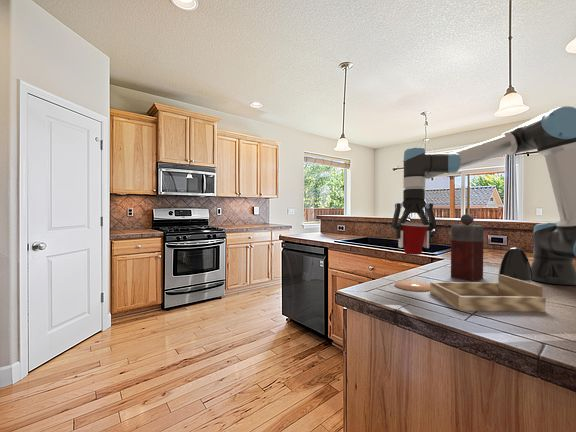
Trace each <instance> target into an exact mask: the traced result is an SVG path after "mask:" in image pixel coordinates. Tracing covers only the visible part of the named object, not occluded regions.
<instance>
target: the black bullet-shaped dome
mask: <svg viewBox="0 0 576 432" xmlns="http://www.w3.org/2000/svg"><path fill="white" fill-rule="evenodd" d="M499 275H505V276H508V277H512V278H515V279H519V280H522V281H526V282H529V283H532V281H533V280H532V271H531V264H530V261H529V258H528V256H527V255H526V253H525V251H524V250H523V249H521V248H519V247H516V246H515V247H513V246H512V247H510V248H508V249H507V250H506V251H505V252H504V254H503V256H502V259H501V262H500V265H499V269H498V276H499Z"/></svg>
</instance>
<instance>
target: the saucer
mask: <svg viewBox="0 0 576 432" xmlns="http://www.w3.org/2000/svg"><path fill="white" fill-rule="evenodd" d="M394 287H396V288H399V289H401V290H406V291H409V292H410V291H411V292H430V282H429V283H428V282H425V281H418V280H405V279H403V280H402V279H401V280H397V281H395V286H394Z"/></svg>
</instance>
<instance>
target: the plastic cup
mask: <svg viewBox="0 0 576 432" xmlns="http://www.w3.org/2000/svg"><path fill="white" fill-rule="evenodd" d="M401 225H402V229H401V230H402V231H403V251H404V253H405V254H406V255H413V256H414V255H415V256H416V255H417V256H419V255H421V254H422V252H423V248H424V238H425V233H426V230H427V228H428V226H429V225H423V223H420V222H419V223H418V222H406V221H405V223H404V224H402V223H401Z"/></svg>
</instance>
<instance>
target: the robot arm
mask: <svg viewBox="0 0 576 432" xmlns="http://www.w3.org/2000/svg"><path fill="white" fill-rule="evenodd" d="M534 150H537V153H538V154H540V155H541V156H543V157H544V158H545V163H546V167H547V171H548V175H549V180H550V183H551V188H552V192H553V196H554V199H555V203H556V206H557V211H558V214H559V221H558V222H542V223H537V224H535V225H534V226H533V231H532V236H533V241H532V242H533V243H532V244H533V246H532V247H533V259H532V262H531V264H530V267H531V271H532V280H531V281H536V282H541V283H546V284H547V283H548V284H554V285H563V286H564V285H565V286H568V285H569V286H575V285H576V267H575V264H574V259H575V260H576V107H574V106H569V105H568V106H566V105H565V106H559V107H557V108H553V109H551V110H547V111H546V112H544V113H542V114H541V115H538V116H537V117H535V118H532V119H530V120H528V121H526V122H525V123H522V124H520V125H519V126H517V127H514V128H513V129H511V130H507V131H504V132H503V133H501V135H500V136H497V137H494V138H492V139H489V140H486V141H483V142H479V143H476V144H473V145H469V146H467V147H464V148H461V149H458V150H457V149H456V150H455V151H452V152H449V151H448V152H440V153H439V152H438V153H435V152H433V153H429V152H426V148H425V147H421V146H420V147H419V146H416V147H415V146H414V147H409V148H407V149H405V150H404V153H403V192H402V196H403V197H402V198H403V200H402V202H401V203H399V202H398V203H397V202H395V203H394V208H395V210H394V213H393V218H392V222H391V226H390V227H391V229H394V230H395V237H396V239H398V240H397V241H398V242H397V243H398V248H400V249H402V248H403V249H404V245H403V231H402V230H401V229H402V225H401V223H402V224H404V223H405V222H406V221H407V219H408V217H409V216H410V214H416V215H418V216H419V218H420V220H421V222H422V223H421V224H423V225H429V226H428V228H427V230H426V233H425V238H424V243H423V248H426V249H429V248H430V240H431V239H432V231H434V230H437V223H436V222H437V221H436V219H435V213H434V203H433V202H431V203H430V202H429V203H428V202H426V201H425V198H426V195H425V194H426V193H425V192H426V191H425V190H426V189H424V188H425V187H426V180H427V179H428V180H429V179H433V178H436V177H437V176H441V175H443V174H453V173H454V174H455V173H457V172H458V171H460V169H462V168H465V167H469V166H472V165H475V164H478V163H481V162H485V161H488V160H491V159H494V158H497V157H501V156H505V155H508V156H512V155H516V154H517V153H522V152H528V151H534ZM402 208H404V211H403V213H402V215H401V217H400V214H401V210H402ZM424 208H425V209H426V214H427V216H426V214H425V210H424ZM427 217H428V218H427ZM399 218H400V219H399Z"/></svg>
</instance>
